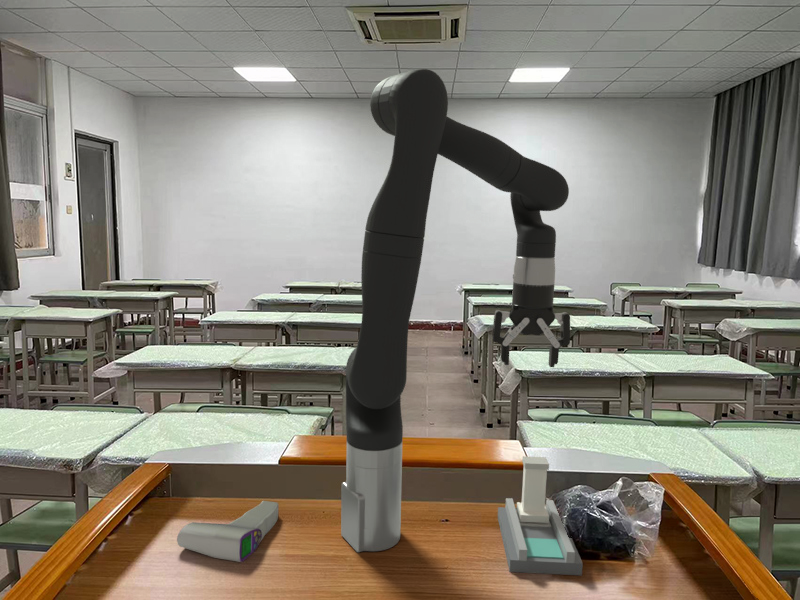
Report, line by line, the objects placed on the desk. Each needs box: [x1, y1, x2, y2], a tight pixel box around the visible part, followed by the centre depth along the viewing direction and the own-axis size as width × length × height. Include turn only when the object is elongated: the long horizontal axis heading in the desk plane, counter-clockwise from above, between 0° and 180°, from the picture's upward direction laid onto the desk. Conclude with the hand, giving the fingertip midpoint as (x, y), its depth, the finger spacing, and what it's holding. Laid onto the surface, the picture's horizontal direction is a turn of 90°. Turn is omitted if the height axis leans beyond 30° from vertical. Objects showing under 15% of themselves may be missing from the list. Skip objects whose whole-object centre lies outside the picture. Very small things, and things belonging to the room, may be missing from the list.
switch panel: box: [497, 497, 584, 576], centre depth 96 cm, size 16×11×4 cm
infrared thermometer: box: [176, 500, 279, 563], centre depth 97 cm, size 5×12×15 cm
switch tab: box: [516, 455, 550, 523], centre depth 100 cm, size 4×5×10 cm
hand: (528, 365), depth 110 cm, fingers open, 8 cm apart
